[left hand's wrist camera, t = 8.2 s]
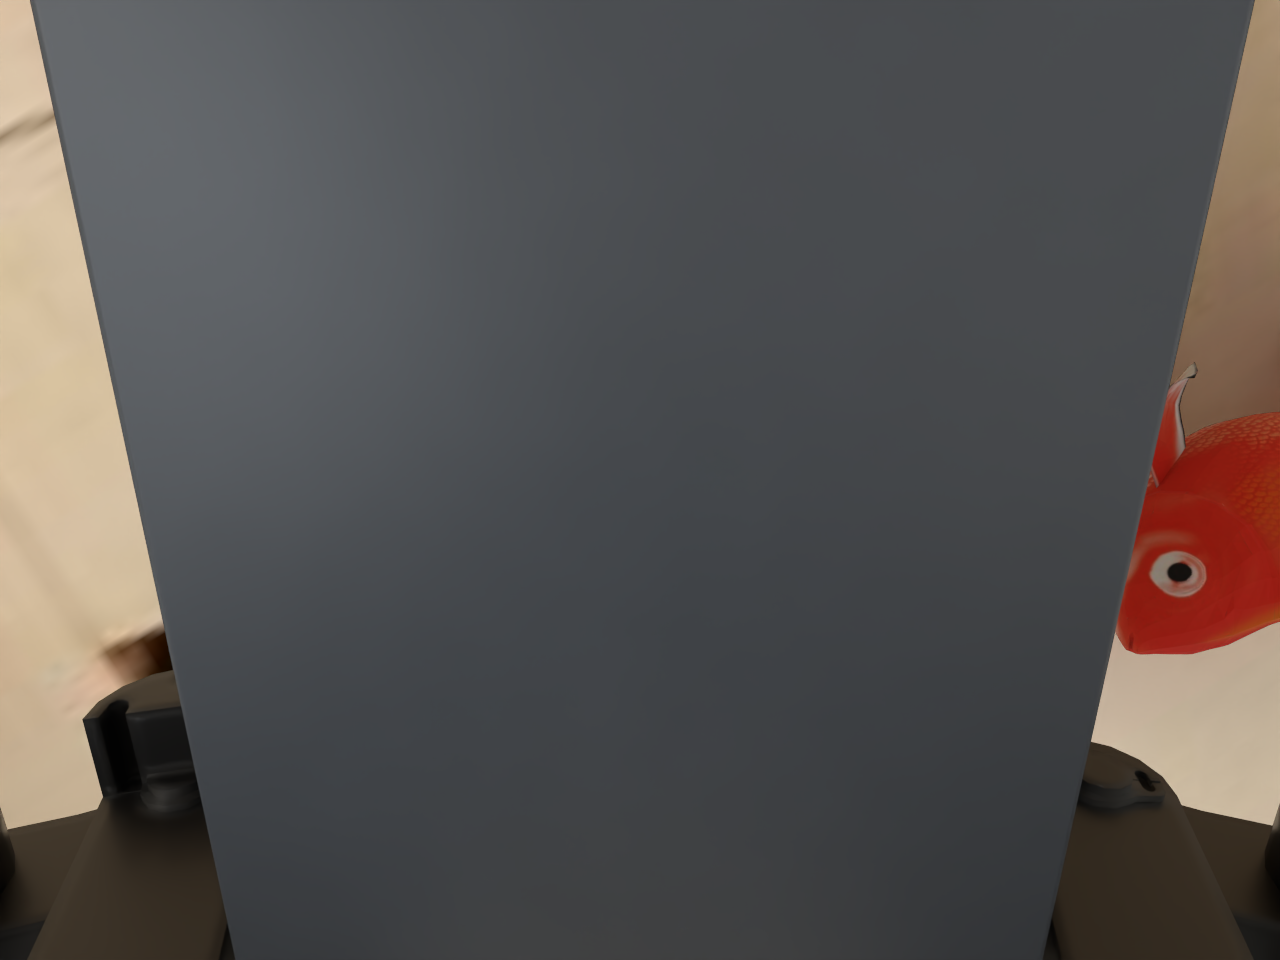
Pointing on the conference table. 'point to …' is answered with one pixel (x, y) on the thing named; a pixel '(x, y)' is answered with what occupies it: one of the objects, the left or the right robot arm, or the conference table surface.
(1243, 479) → the fish
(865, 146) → the bar
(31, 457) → the conference table surface
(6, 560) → the conference table surface
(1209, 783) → the conference table surface
